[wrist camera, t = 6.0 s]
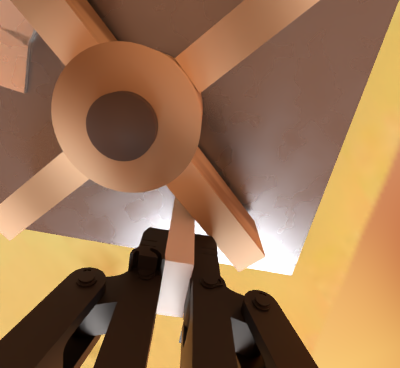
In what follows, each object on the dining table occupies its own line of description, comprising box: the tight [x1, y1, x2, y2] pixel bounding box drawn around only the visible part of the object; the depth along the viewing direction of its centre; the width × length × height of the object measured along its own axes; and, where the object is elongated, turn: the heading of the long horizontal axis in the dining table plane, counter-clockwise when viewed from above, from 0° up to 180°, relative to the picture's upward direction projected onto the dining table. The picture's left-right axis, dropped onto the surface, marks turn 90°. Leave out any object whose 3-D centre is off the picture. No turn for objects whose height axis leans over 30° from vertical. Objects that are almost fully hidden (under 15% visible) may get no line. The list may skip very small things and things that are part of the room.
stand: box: [0, 0, 399, 275], centre depth 16 cm, size 22×19×2 cm
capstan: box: [0, 0, 320, 272], centre depth 12 cm, size 18×19×7 cm
